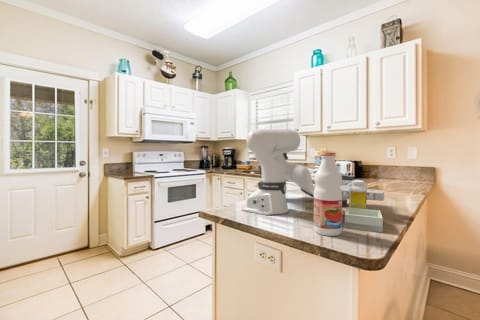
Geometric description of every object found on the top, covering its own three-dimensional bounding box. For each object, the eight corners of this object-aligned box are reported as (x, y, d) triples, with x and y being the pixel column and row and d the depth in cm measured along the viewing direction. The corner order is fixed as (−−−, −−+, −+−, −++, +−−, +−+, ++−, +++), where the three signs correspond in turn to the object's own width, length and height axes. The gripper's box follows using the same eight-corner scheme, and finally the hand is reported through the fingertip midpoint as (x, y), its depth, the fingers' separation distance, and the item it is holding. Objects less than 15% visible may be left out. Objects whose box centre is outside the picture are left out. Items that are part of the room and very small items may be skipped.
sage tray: (344, 227, 87) (344, 214, 87) (346, 219, 98) (346, 207, 97) (382, 232, 81) (382, 218, 81) (379, 222, 92) (380, 210, 92)
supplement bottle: (368, 213, 96) (369, 182, 96) (351, 212, 97) (351, 181, 97) (363, 209, 103) (363, 180, 102) (347, 208, 104) (347, 179, 103)
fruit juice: (324, 225, 89) (324, 152, 88) (347, 232, 82) (348, 152, 80) (308, 230, 84) (308, 152, 83) (331, 238, 76) (332, 152, 75)
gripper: (383, 200, 107) (386, 207, 94) (335, 196, 116) (332, 202, 104) (383, 186, 106) (386, 191, 94) (335, 183, 116) (332, 188, 104)
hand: (357, 197), depth 99 cm, fingers closed on supplement bottle, 7 cm apart
